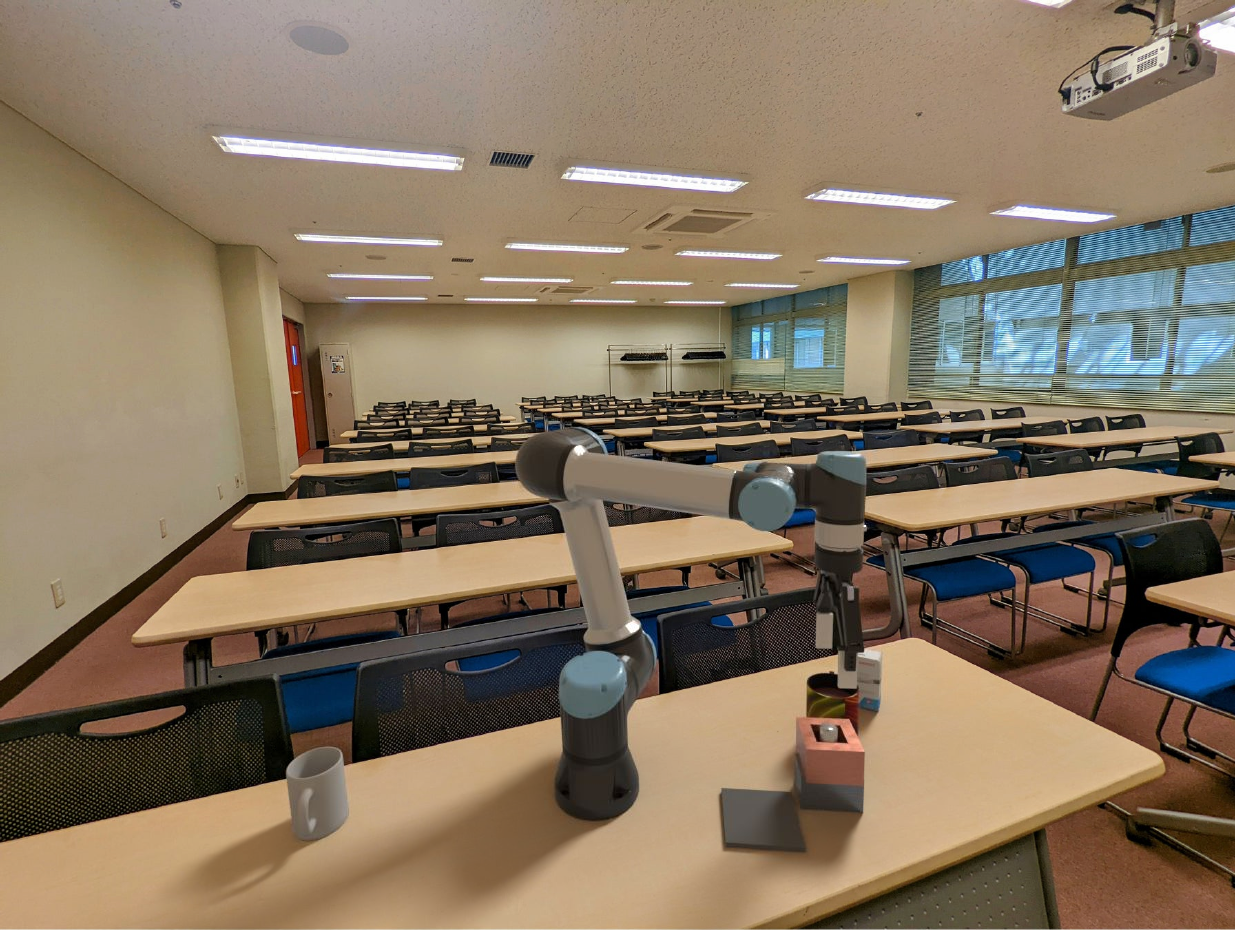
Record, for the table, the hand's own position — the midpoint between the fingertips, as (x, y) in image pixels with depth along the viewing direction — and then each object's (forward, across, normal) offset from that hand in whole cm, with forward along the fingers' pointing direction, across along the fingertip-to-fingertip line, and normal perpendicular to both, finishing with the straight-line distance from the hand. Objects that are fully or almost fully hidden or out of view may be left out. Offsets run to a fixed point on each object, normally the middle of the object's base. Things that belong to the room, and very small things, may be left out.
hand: (834, 666), depth 96 cm
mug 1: (+24, -14, +87) cm, 91 cm away
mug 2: (+23, +15, -4) cm, 28 cm away
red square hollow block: (+17, -2, +1) cm, 17 cm away
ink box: (+23, +28, -14) cm, 39 cm away
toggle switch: (+23, -2, +1) cm, 23 cm away
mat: (+23, -8, +13) cm, 28 cm away
